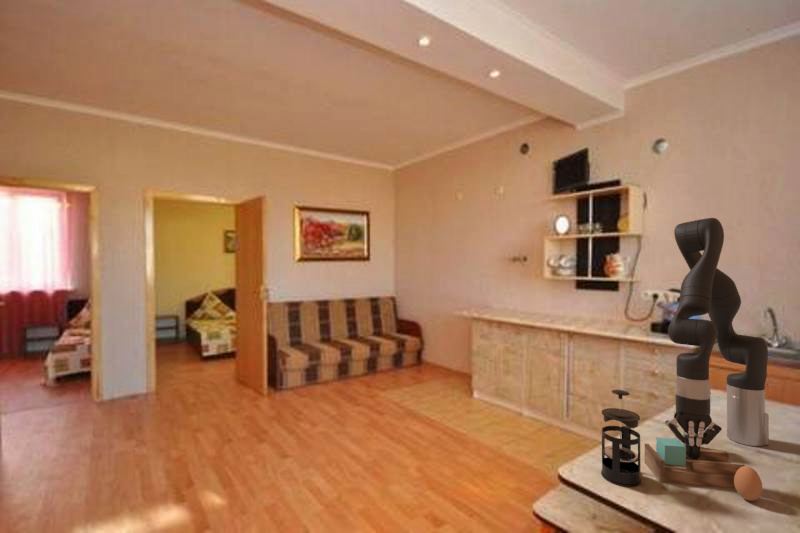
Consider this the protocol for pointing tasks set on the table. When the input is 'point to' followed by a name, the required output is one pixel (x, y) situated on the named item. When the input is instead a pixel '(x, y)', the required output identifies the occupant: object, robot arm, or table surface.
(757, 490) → the egg
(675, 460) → the block
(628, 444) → the french press
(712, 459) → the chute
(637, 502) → the table surface
